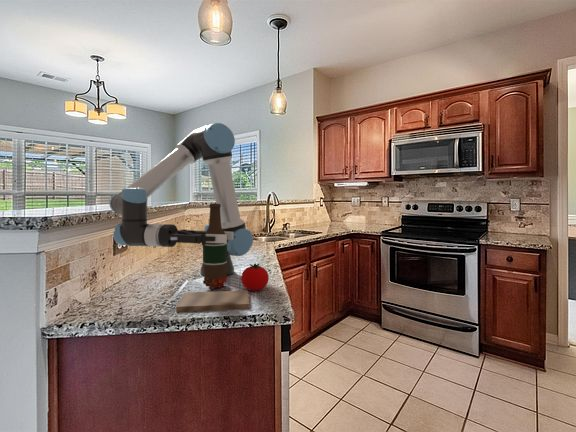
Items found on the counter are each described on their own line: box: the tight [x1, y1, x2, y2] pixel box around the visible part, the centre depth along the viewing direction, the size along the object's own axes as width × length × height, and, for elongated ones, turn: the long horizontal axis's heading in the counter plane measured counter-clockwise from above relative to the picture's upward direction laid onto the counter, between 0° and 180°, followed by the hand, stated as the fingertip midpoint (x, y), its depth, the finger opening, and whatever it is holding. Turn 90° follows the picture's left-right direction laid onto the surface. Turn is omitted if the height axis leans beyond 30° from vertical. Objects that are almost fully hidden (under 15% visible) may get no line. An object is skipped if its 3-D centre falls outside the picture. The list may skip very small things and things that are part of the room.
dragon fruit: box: [202, 275, 228, 291], centre depth 117 cm, size 8×8×12 cm
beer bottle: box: [202, 202, 227, 279], centre depth 100 cm, size 8×8×24 cm
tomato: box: [240, 262, 270, 292], centre depth 115 cm, size 10×10×10 cm
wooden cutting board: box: [175, 289, 250, 313], centre depth 101 cm, size 22×14×2 cm, turn 99°
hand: (229, 237), depth 99 cm, fingers closed on beer bottle, 7 cm apart
